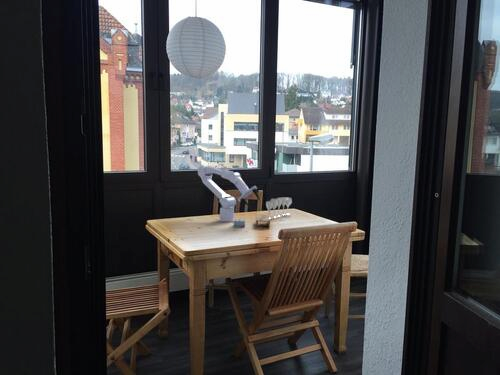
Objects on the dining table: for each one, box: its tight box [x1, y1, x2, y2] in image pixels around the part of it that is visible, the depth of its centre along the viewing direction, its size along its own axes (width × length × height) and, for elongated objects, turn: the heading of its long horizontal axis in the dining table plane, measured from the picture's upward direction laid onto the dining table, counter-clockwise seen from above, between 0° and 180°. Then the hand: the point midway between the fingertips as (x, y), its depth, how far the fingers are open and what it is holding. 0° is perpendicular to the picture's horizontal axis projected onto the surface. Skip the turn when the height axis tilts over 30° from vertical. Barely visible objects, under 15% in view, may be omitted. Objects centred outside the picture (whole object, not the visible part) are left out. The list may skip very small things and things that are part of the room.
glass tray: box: [233, 219, 246, 228], centre depth 265 cm, size 7×5×4 cm
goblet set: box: [265, 196, 293, 220], centre depth 301 cm, size 28×6×13 cm, turn 141°
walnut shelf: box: [255, 214, 271, 229], centre depth 269 cm, size 8×17×5 cm, turn 179°
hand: (254, 203), depth 269 cm, fingers open, 7 cm apart
